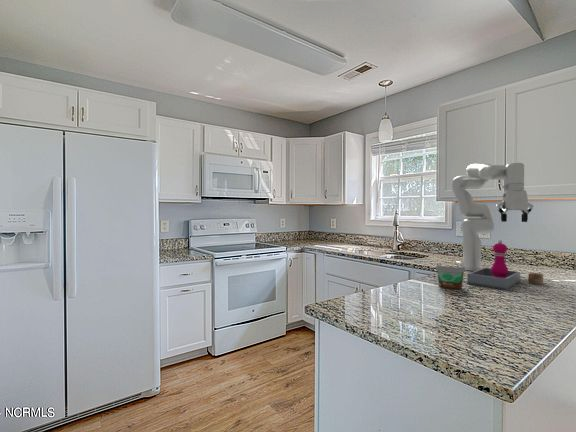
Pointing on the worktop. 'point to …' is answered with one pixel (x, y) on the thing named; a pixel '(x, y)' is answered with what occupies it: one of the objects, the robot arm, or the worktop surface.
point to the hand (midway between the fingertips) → (514, 221)
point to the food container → (450, 277)
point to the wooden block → (535, 278)
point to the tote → (493, 279)
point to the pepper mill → (499, 261)
